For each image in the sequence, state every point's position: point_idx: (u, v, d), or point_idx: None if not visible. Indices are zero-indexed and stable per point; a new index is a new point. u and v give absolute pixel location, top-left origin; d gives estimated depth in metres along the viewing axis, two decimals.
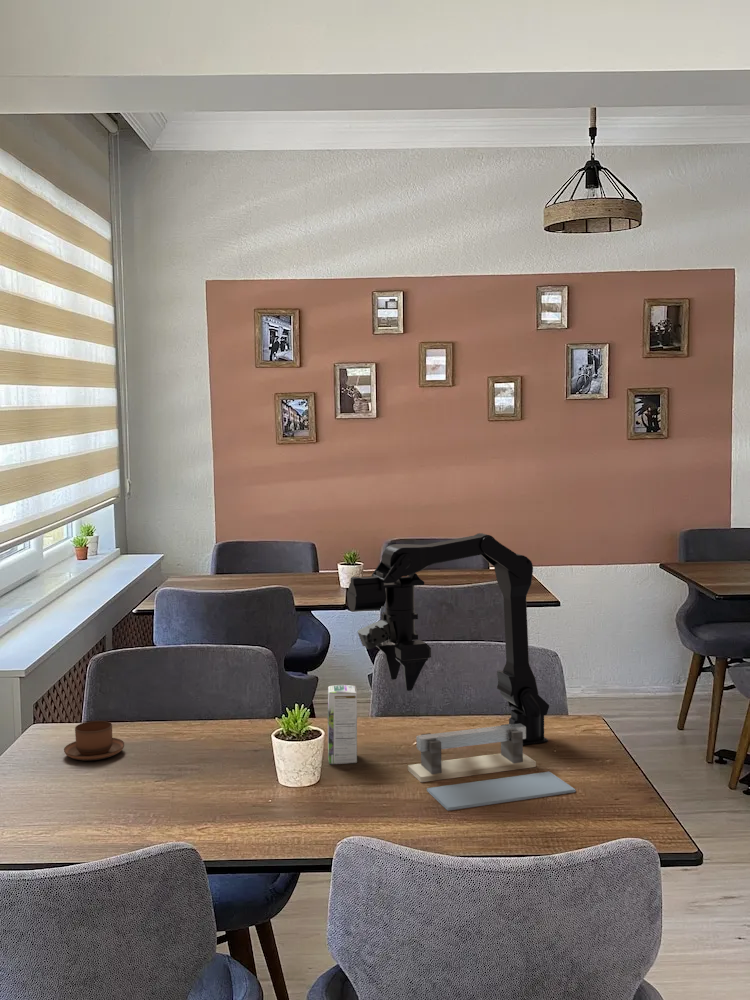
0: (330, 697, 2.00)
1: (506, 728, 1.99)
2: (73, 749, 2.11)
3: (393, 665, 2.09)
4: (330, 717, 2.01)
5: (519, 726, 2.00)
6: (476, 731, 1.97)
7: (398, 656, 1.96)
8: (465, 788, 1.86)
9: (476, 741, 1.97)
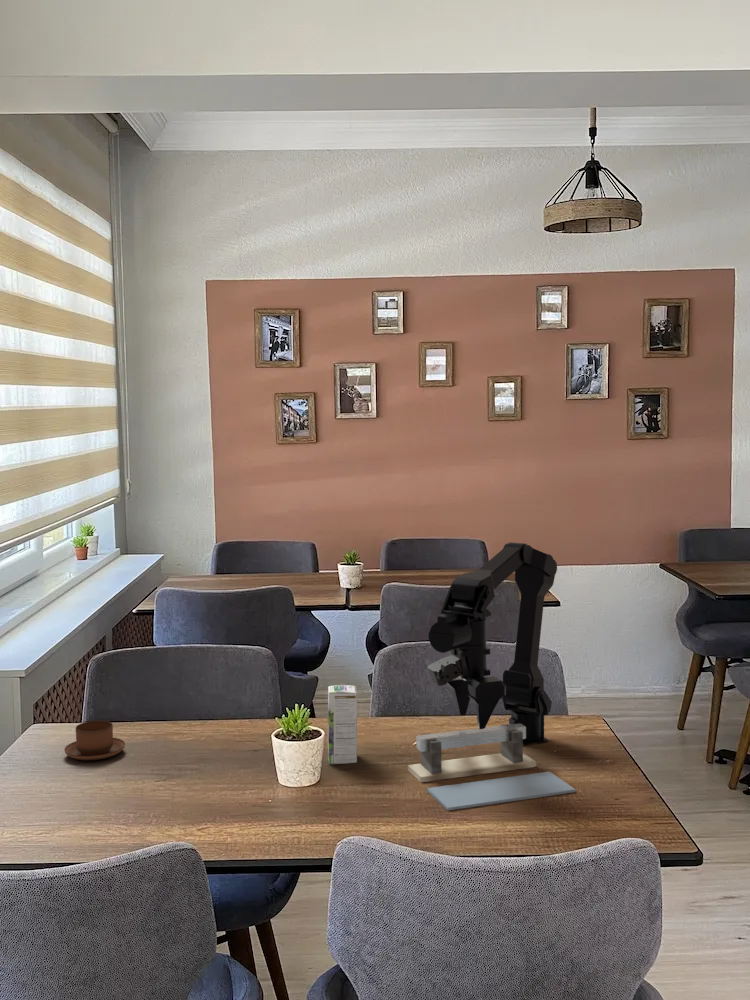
0: (330, 697, 2.00)
1: (506, 728, 1.99)
2: (74, 749, 2.11)
3: (462, 701, 2.01)
4: (330, 717, 2.01)
5: (519, 726, 2.00)
6: (476, 731, 1.97)
7: (472, 694, 1.89)
8: (465, 788, 1.86)
9: (476, 741, 1.97)
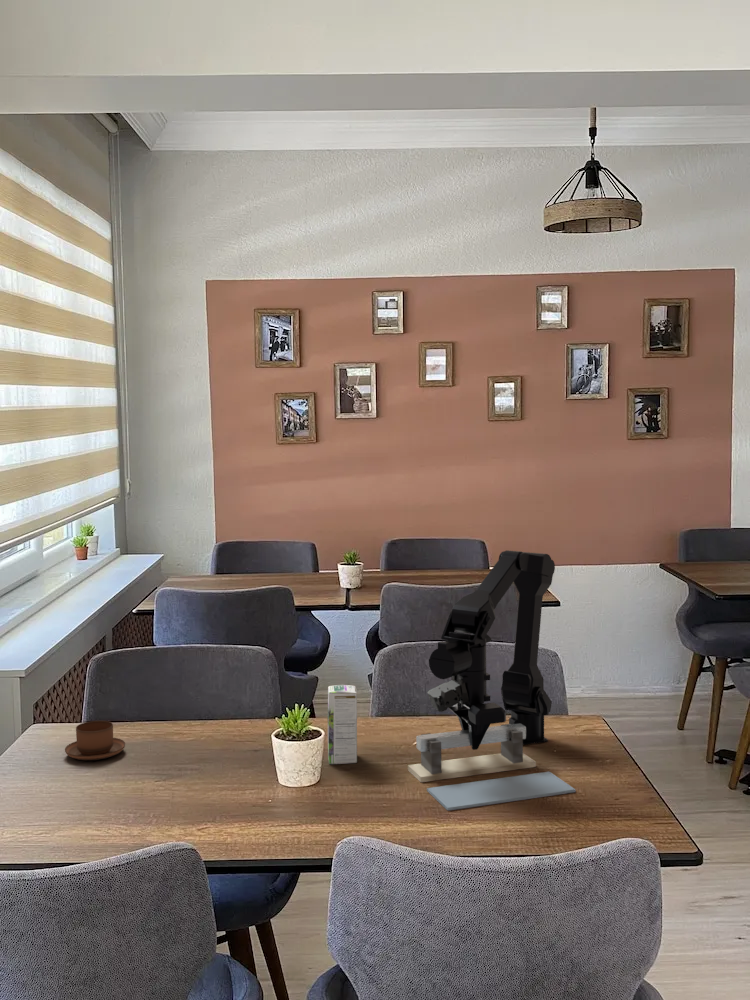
0: (330, 697, 2.00)
1: (506, 728, 1.99)
2: (74, 749, 2.11)
3: (469, 730, 1.99)
4: (330, 717, 2.01)
5: (519, 726, 2.00)
6: None
7: (472, 720, 1.89)
8: (465, 788, 1.86)
9: None
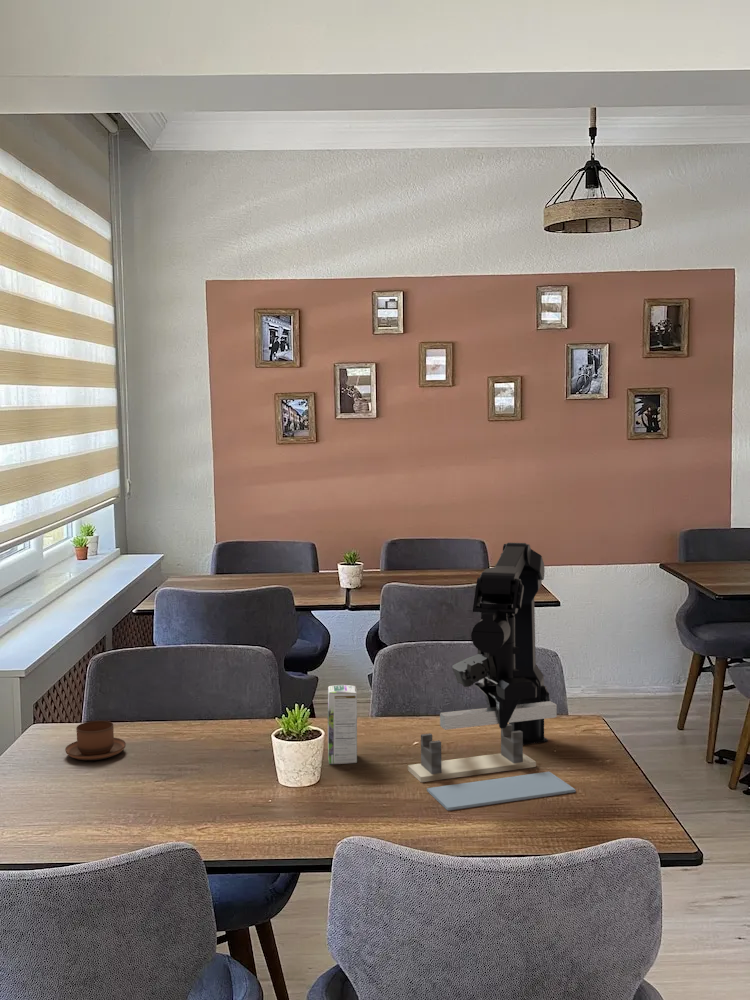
0: (330, 697, 2.00)
1: (535, 706, 1.86)
2: (74, 749, 2.11)
3: None
4: (330, 717, 2.01)
5: (550, 703, 1.87)
6: None
7: (501, 695, 1.76)
8: (465, 788, 1.86)
9: None
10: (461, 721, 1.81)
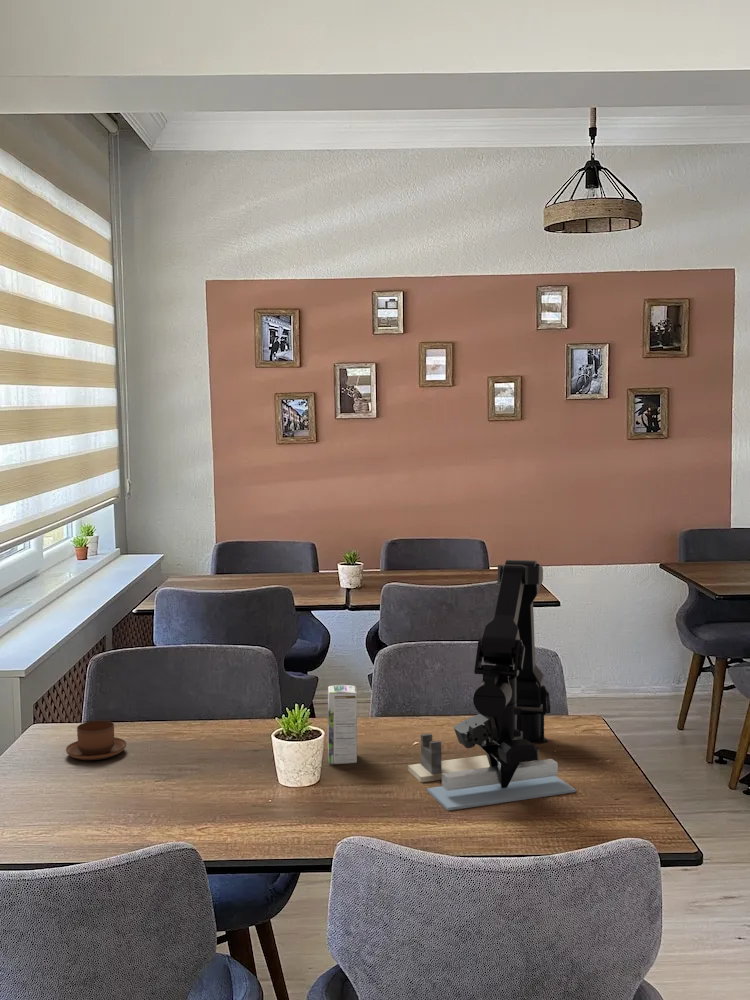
0: (330, 697, 2.00)
1: (537, 764, 1.87)
2: (75, 749, 2.11)
3: None
4: (330, 717, 2.01)
5: (551, 762, 1.88)
6: None
7: (502, 758, 1.77)
8: (465, 788, 1.86)
9: None
10: (463, 782, 1.82)
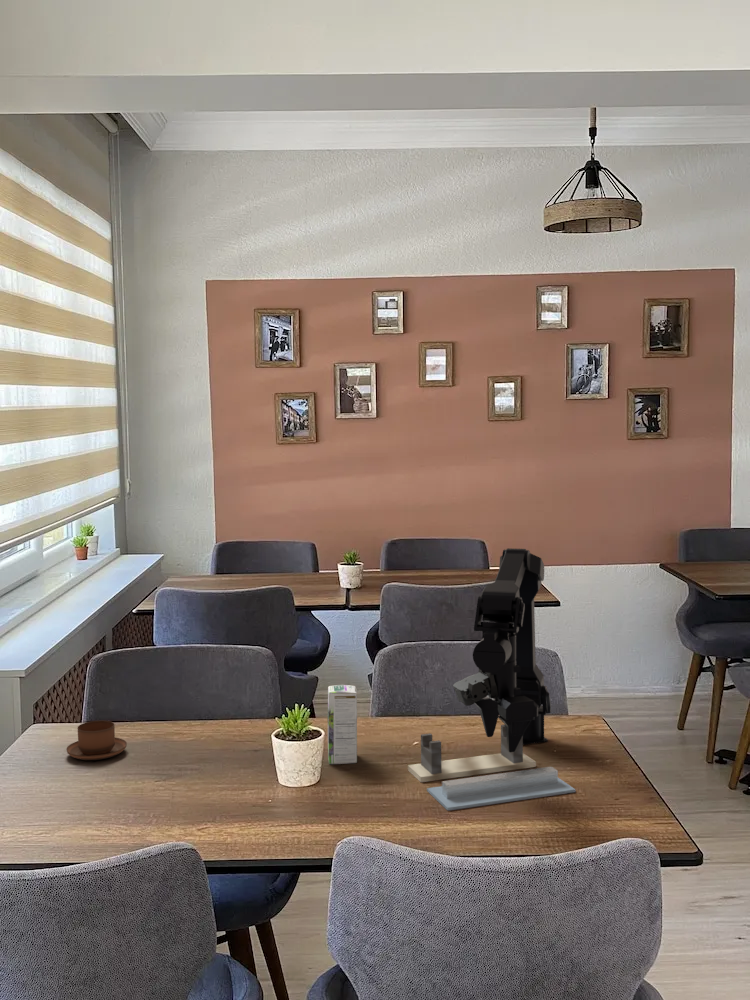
0: (330, 697, 2.00)
1: (537, 772, 1.87)
2: (75, 749, 2.11)
3: (489, 721, 1.89)
4: (330, 717, 2.01)
5: (551, 769, 1.88)
6: (506, 775, 1.85)
7: (502, 715, 1.76)
8: None
9: (505, 787, 1.85)
10: (463, 790, 1.82)
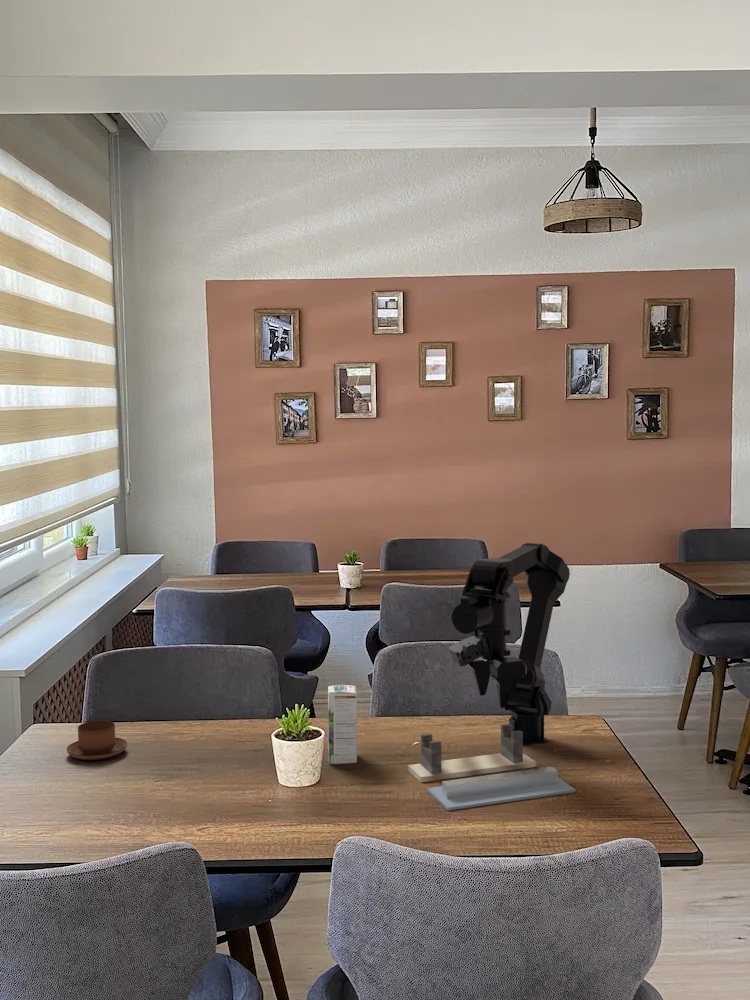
0: (330, 697, 2.00)
1: (537, 772, 1.87)
2: (76, 749, 2.11)
3: (482, 681, 2.06)
4: (330, 717, 2.01)
5: (551, 769, 1.88)
6: (506, 775, 1.85)
7: (494, 673, 1.93)
8: None
9: (505, 787, 1.85)
10: (463, 790, 1.82)
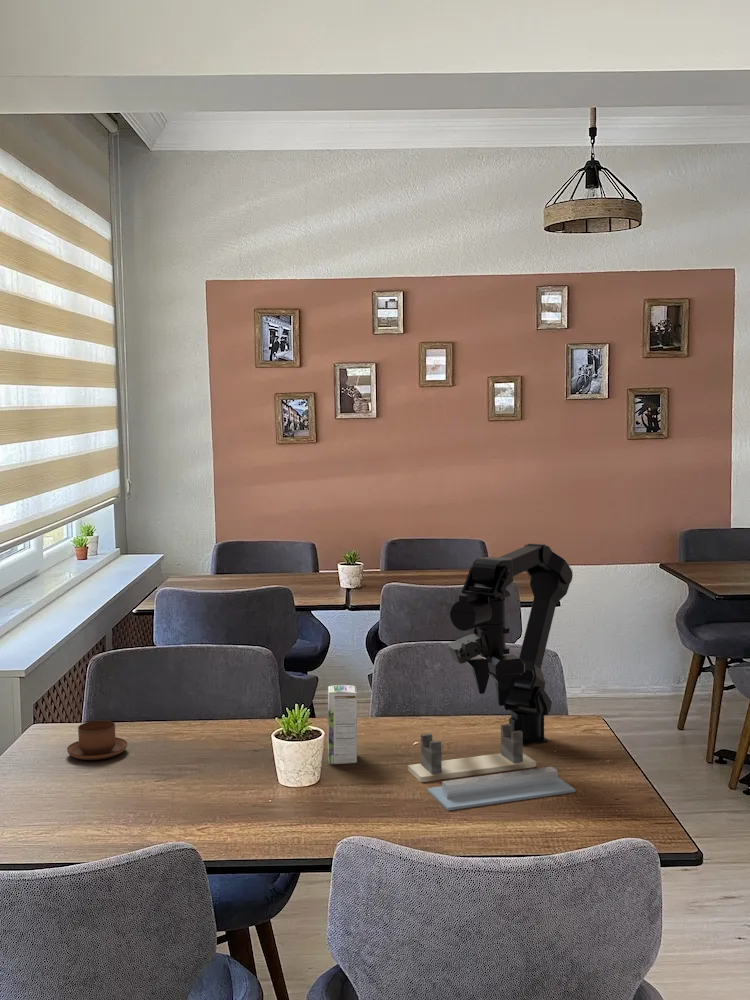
0: (330, 697, 2.00)
1: (537, 772, 1.87)
2: (76, 749, 2.11)
3: (481, 679, 2.07)
4: (330, 717, 2.01)
5: (551, 769, 1.88)
6: (506, 775, 1.85)
7: (492, 671, 1.94)
8: None
9: (505, 787, 1.85)
10: (463, 790, 1.82)
